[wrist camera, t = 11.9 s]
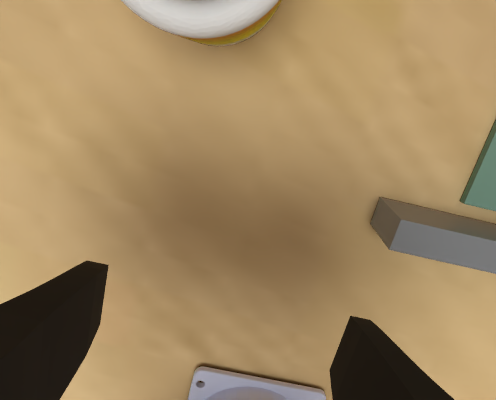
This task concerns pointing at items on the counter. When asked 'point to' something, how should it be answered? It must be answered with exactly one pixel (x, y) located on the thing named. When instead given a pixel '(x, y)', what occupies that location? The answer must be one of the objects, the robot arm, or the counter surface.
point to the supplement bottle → (207, 18)
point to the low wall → (436, 234)
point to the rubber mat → (483, 177)
